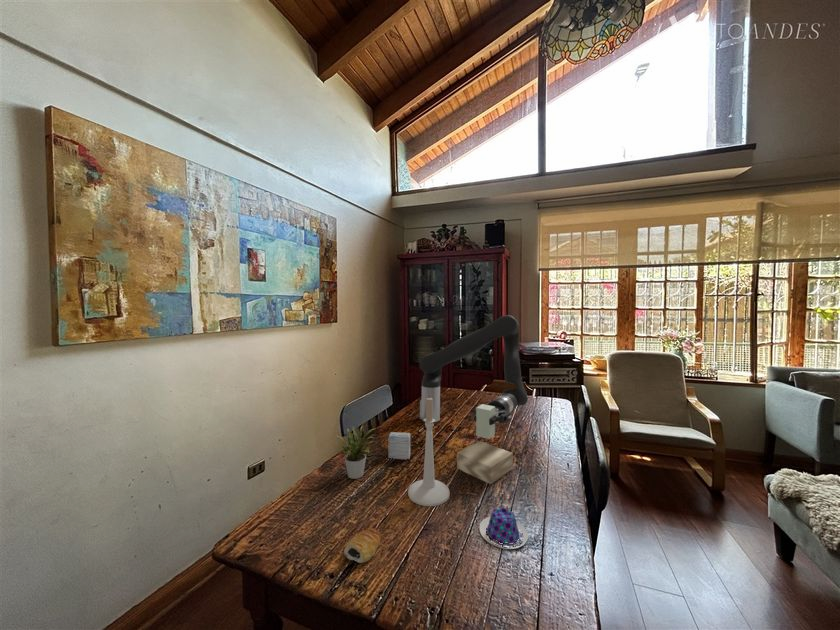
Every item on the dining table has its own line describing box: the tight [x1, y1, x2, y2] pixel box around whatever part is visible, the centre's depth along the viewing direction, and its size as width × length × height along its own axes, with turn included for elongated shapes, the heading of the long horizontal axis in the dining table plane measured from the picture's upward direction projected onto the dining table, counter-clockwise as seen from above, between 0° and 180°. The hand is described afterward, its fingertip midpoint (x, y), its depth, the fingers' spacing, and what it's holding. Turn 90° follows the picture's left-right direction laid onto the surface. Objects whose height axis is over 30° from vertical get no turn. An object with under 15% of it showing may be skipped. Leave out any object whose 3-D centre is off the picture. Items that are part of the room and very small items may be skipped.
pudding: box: [478, 507, 529, 550], centre depth 82 cm, size 12×12×5 cm
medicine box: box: [387, 431, 411, 460], centre depth 122 cm, size 8×4×9 cm, turn 84°
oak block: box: [456, 440, 514, 485], centre depth 114 cm, size 14×14×6 cm
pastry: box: [343, 527, 382, 564], centre depth 76 cm, size 9×7×4 cm
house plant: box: [335, 425, 377, 480], centre depth 109 cm, size 14×14×16 cm
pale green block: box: [475, 403, 496, 440], centre depth 113 cm, size 5×5×10 cm
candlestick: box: [407, 397, 451, 507], centre depth 98 cm, size 13×13×30 cm
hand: (482, 420), depth 111 cm, fingers closed on pale green block, 5 cm apart
